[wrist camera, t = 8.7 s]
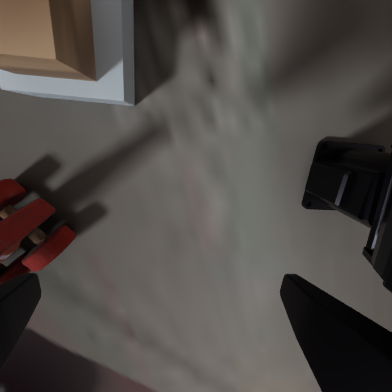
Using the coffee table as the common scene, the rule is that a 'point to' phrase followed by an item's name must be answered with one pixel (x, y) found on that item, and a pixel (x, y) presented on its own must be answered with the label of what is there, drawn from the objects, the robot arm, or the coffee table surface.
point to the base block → (104, 62)
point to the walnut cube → (47, 38)
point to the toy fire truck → (27, 232)
